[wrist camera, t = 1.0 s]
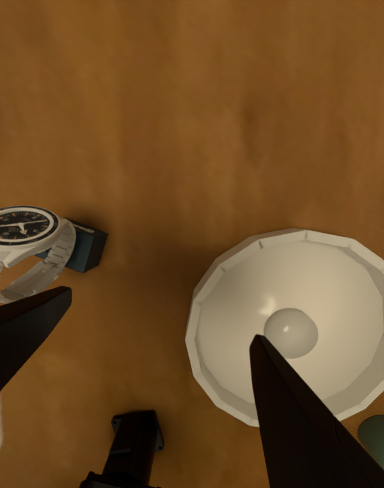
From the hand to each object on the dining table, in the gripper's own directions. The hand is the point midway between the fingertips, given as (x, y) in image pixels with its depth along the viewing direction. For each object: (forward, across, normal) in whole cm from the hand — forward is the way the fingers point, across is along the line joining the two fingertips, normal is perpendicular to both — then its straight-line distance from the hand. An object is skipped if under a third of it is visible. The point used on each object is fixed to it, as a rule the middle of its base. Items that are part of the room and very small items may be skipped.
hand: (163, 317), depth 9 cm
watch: (+14, +13, +4) cm, 19 cm away
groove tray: (+13, -15, +9) cm, 22 cm away
